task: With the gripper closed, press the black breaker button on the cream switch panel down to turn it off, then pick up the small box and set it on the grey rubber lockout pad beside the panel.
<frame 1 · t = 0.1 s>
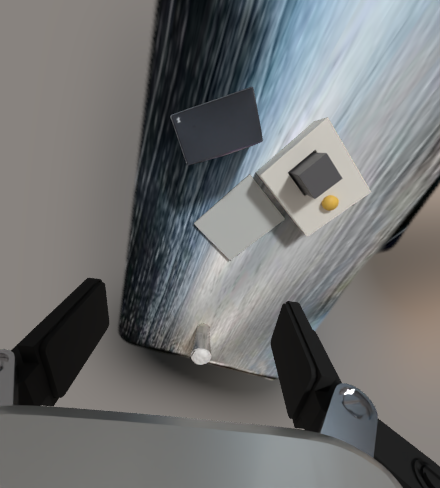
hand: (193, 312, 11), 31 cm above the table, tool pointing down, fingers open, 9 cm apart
milkshake: (202, 326, 53), on the table
small box: (218, 134, 35), on the table
lockout pad: (238, 220, 41), on the table
switch panel: (305, 179, 38), on the table
breaker button: (312, 174, 32), point 6 cm above the table, slide at 0.0 cm
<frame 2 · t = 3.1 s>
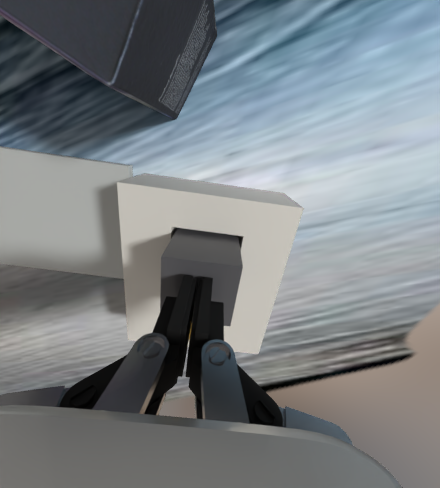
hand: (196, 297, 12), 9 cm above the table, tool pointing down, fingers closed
small box: (128, 31, 14), on the table
lockout pad: (58, 217, 19), on the table
switch panel: (206, 255, 21), on the table
breaker button: (203, 267, 15), point 6 cm above the table, slide at 0.4 cm, touching gripper
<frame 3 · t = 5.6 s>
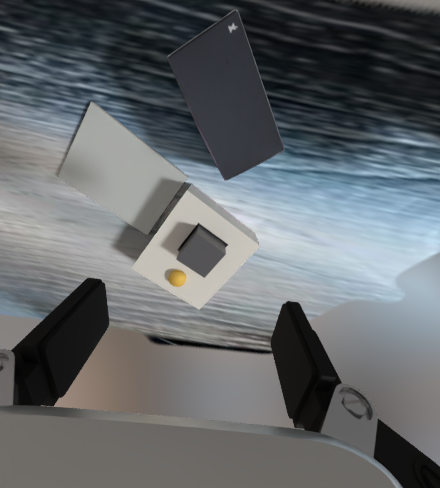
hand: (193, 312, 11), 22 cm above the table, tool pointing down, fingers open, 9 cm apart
small box: (226, 121, 27), on the table
lockout pad: (124, 176, 29), on the table
switch panel: (197, 243, 33), on the table
breaker button: (202, 246, 28), point 5 cm above the table, slide at 1.2 cm
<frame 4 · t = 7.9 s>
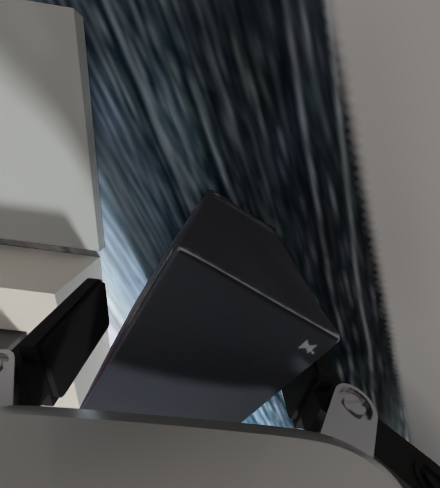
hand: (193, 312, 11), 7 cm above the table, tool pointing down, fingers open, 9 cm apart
small box: (207, 258, 18), on the table, touching gripper
lockout pad: (13, 142, 14), on the table
switch panel: (30, 303, 19), on the table
breaker button: (2, 350, 15), point 5 cm above the table, slide at 1.2 cm
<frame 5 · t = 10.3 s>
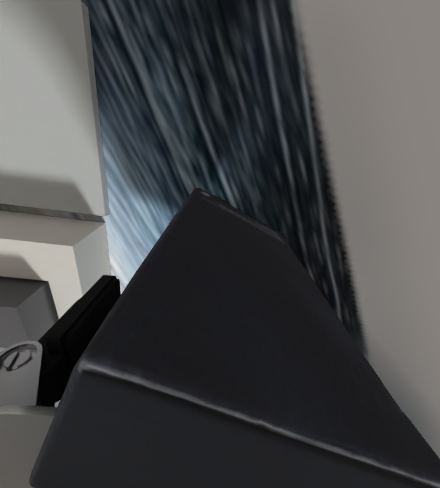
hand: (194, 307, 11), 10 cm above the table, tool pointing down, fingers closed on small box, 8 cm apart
small box: (199, 274, 14), point 7 cm above the table, touching gripper
lockout pad: (27, 118, 16), on the table
switch panel: (43, 267, 22), on the table
breaker button: (26, 299, 18), point 5 cm above the table, slide at 1.2 cm
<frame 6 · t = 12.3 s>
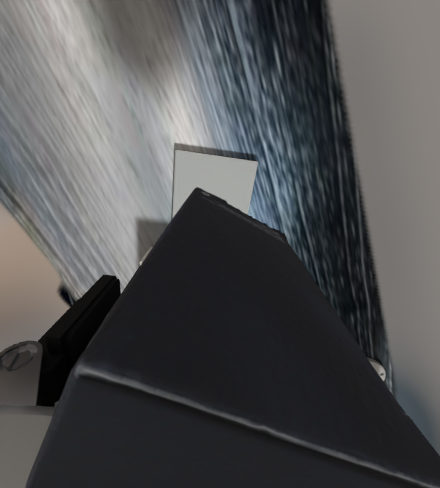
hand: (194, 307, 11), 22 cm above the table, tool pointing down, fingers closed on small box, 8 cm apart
small box: (199, 274, 14), point 19 cm above the table, touching gripper
lockout pad: (211, 206, 31), on the table
when the fingers open (5 cm above the table, at t = 16.1 s): small box drops 1 cm, resting on lockout pad.
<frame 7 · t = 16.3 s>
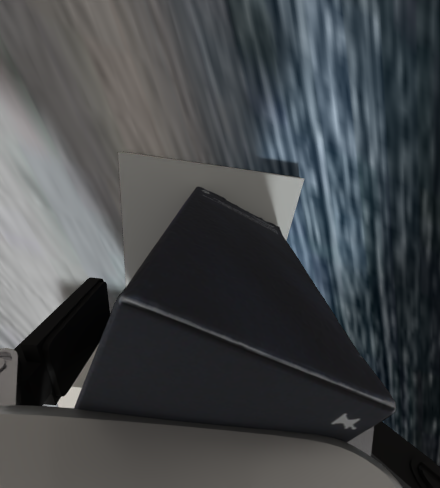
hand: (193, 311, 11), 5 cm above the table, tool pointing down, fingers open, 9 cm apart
small box: (202, 266, 15), point 1 cm above the table, touching lockout pad
lockout pad: (202, 262, 16), on the table
switch panel: (169, 377, 21), on the table
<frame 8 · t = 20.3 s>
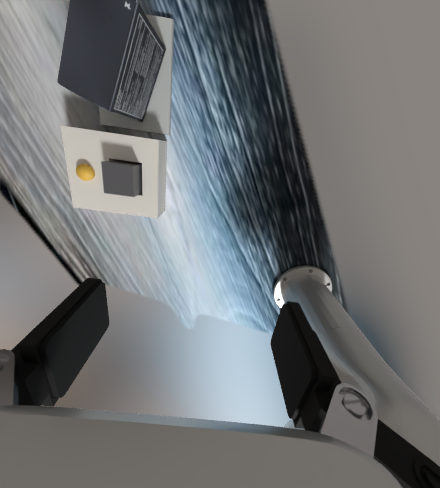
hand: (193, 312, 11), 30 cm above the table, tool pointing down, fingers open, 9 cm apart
small box: (134, 76, 31), point 1 cm above the table, touching lockout pad
lockout pad: (135, 77, 31), on the table
switch panel: (126, 172, 37), on the table
breaker button: (126, 177, 33), point 5 cm above the table, slide at 1.2 cm
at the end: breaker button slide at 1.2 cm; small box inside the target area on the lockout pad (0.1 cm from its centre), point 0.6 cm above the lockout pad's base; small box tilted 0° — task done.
